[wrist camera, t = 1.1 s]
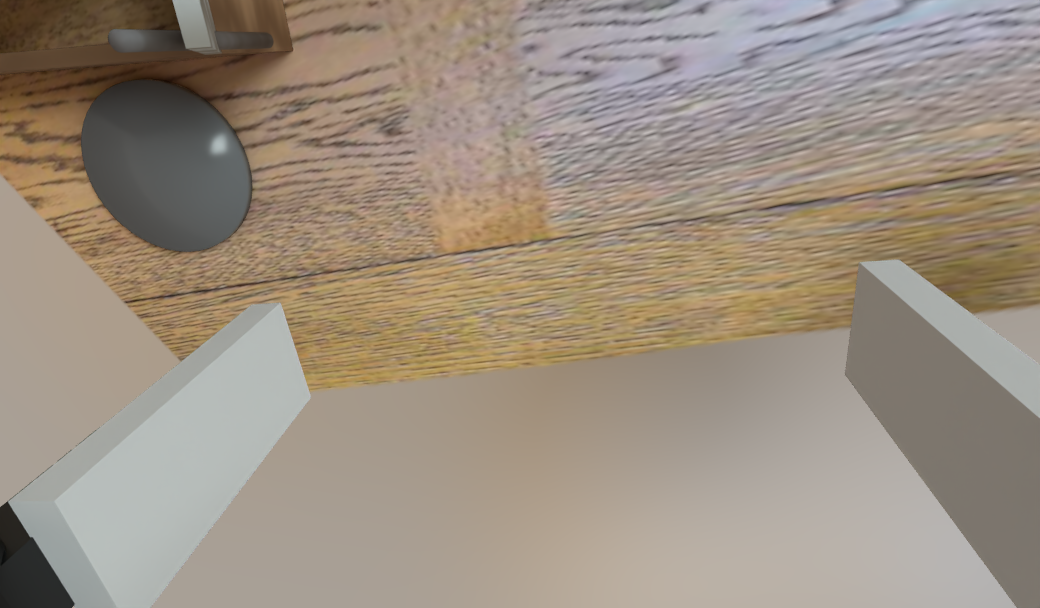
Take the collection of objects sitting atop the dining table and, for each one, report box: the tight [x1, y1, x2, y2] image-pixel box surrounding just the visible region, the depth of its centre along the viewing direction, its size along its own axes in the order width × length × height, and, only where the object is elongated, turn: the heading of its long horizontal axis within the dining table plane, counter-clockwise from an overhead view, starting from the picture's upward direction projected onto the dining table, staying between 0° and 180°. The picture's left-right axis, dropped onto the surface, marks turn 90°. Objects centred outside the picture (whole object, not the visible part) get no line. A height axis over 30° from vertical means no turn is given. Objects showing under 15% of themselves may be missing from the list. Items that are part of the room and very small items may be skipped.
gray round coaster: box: [81, 79, 252, 252], centre depth 41 cm, size 12×12×1 cm
